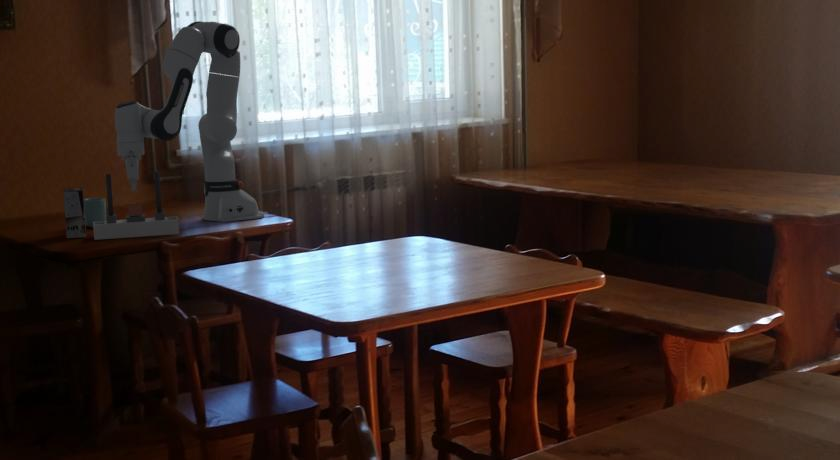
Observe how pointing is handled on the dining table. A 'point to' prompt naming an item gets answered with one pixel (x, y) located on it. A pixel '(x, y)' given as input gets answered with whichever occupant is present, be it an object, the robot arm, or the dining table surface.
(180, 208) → the dining table surface
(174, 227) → the power strip
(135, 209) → the block
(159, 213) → the cord
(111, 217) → the cord
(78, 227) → the coffee box
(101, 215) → the cup
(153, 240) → the dining table surface
